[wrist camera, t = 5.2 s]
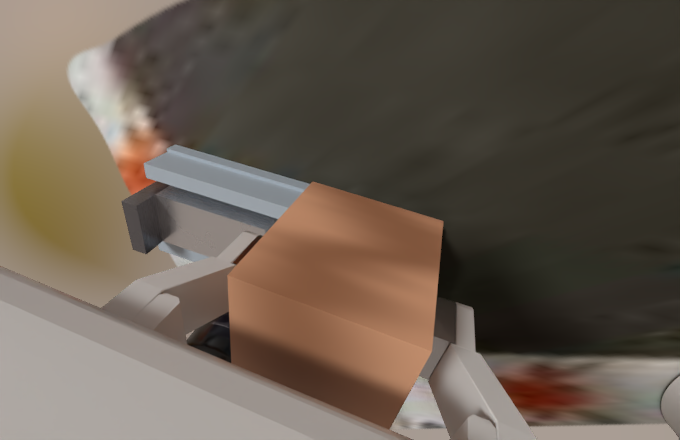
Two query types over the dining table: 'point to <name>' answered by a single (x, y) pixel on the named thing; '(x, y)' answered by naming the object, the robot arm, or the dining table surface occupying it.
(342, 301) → the block
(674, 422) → the robot arm
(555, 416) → the dining table surface
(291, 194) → the channel
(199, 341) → the supplement bottle
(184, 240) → the grey block
